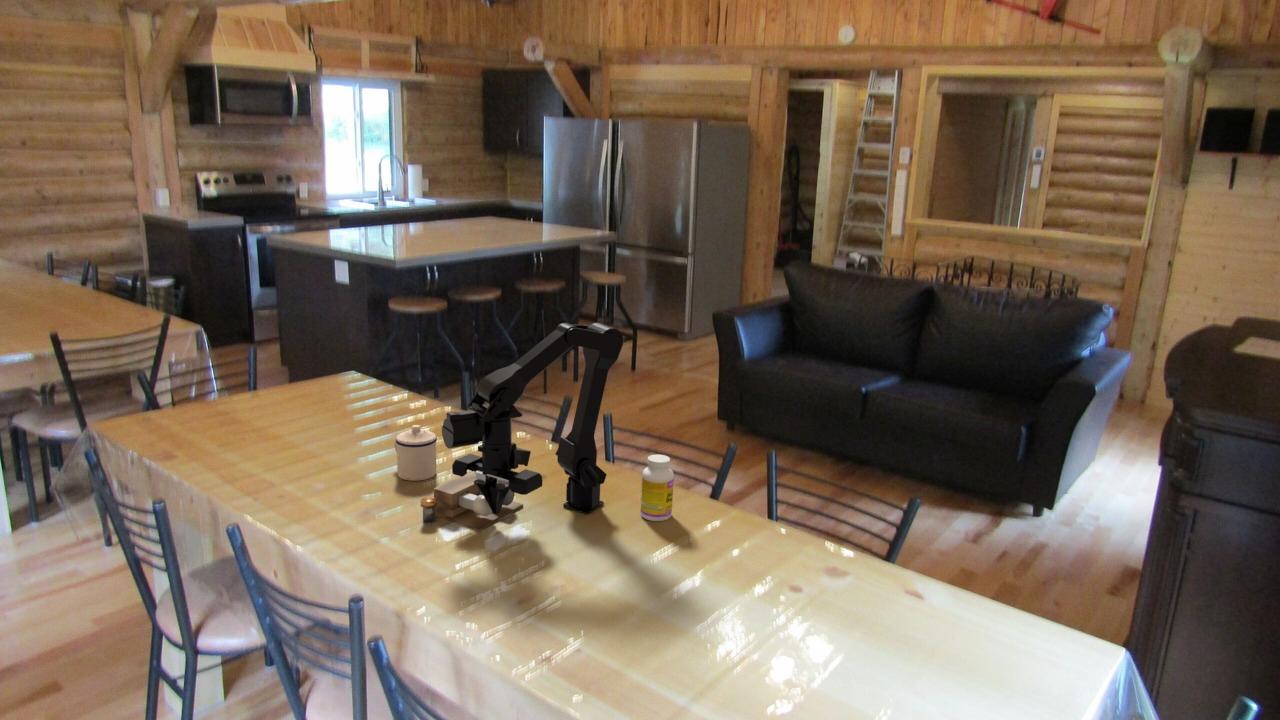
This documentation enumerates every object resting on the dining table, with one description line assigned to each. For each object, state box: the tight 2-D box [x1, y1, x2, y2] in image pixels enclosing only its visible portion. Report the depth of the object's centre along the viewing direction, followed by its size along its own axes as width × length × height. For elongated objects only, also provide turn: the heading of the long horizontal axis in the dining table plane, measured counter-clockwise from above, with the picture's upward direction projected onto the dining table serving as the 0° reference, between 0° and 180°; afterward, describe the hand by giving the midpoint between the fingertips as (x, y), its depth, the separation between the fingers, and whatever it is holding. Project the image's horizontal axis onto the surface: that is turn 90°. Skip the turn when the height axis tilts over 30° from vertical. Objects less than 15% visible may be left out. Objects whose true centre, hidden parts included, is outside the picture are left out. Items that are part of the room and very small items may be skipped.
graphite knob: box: [479, 489, 515, 506], centre depth 182 cm, size 9×4×4 cm, turn 59°
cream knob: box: [458, 492, 492, 516], centre depth 177 cm, size 9×4×4 cm, turn 59°
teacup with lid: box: [394, 424, 438, 482], centre depth 198 cm, size 12×9×12 cm
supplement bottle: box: [639, 454, 675, 522], centre depth 181 cm, size 7×7×13 cm
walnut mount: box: [433, 471, 524, 531], centre depth 180 cm, size 13×14×6 cm
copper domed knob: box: [420, 496, 437, 524], centre depth 174 cm, size 3×3×4 cm
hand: (496, 513), depth 173 cm, fingers closed
